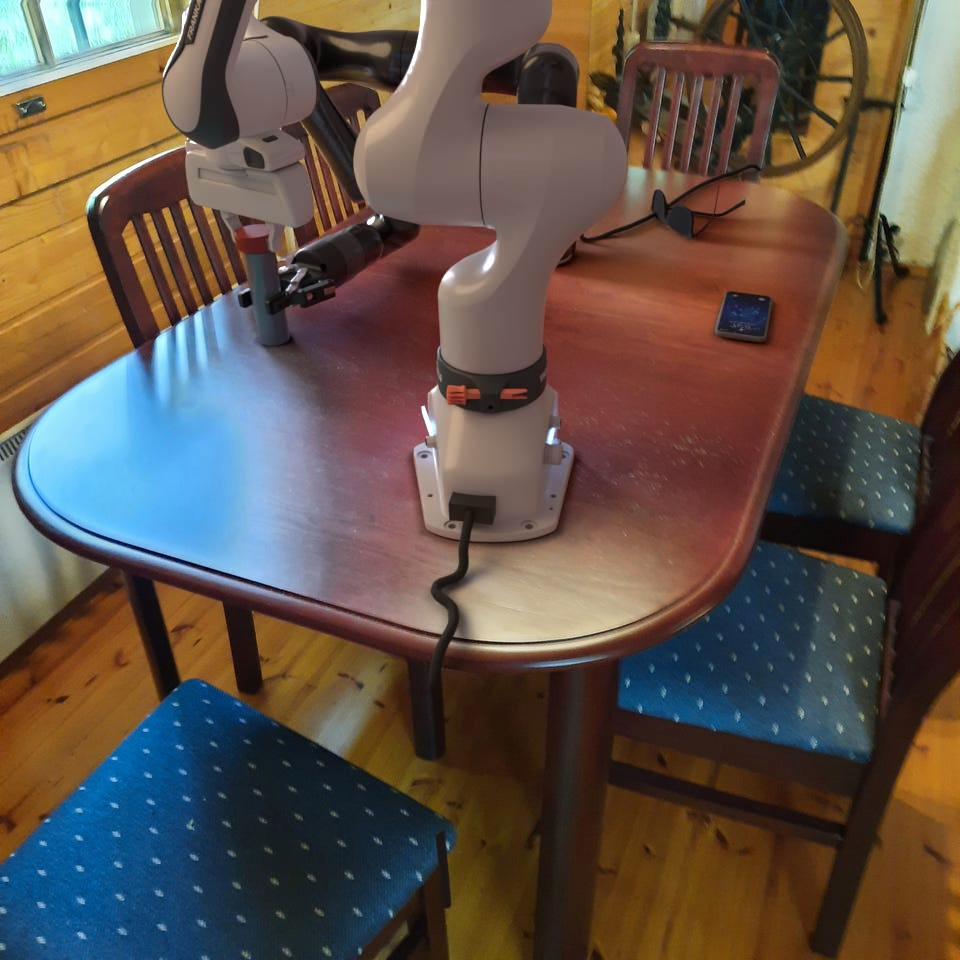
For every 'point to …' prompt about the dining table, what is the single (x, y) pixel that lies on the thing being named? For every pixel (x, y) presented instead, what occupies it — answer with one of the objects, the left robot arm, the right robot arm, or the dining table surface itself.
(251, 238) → the lid
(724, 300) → the smartphone
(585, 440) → the dining table surface
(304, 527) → the dining table surface
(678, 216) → the sunglasses
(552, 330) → the dining table surface
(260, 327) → the bottle
